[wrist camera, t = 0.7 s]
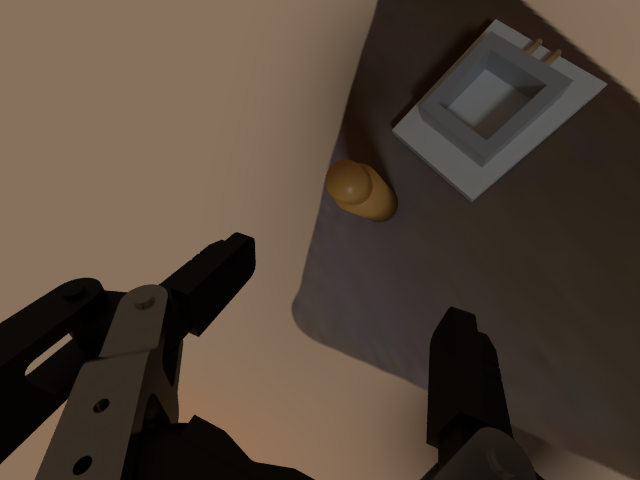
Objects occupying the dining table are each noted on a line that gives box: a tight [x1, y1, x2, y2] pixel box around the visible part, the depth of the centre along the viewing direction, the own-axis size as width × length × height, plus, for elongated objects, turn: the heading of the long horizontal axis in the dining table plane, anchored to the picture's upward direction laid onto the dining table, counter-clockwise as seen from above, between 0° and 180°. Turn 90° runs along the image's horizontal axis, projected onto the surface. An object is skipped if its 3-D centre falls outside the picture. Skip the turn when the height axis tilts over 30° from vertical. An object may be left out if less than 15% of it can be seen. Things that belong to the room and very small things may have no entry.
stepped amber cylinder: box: [325, 159, 398, 222], centre depth 27 cm, size 4×4×13 cm
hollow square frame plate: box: [392, 19, 607, 202], centre depth 26 cm, size 14×12×4 cm
